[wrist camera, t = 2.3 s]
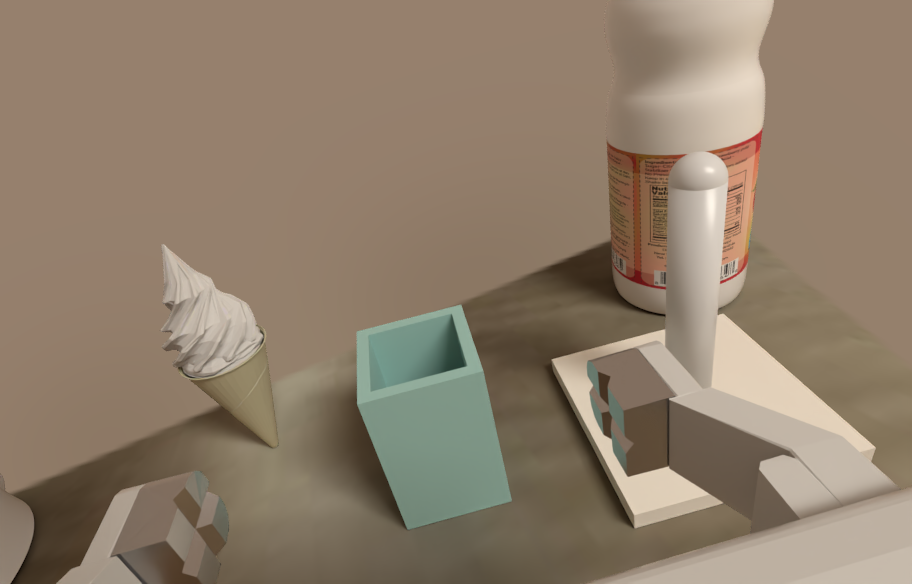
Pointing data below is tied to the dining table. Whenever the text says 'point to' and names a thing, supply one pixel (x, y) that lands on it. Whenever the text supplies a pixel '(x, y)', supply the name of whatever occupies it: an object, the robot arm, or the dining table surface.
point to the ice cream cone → (219, 346)
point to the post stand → (696, 347)
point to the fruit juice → (680, 127)
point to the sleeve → (430, 416)
